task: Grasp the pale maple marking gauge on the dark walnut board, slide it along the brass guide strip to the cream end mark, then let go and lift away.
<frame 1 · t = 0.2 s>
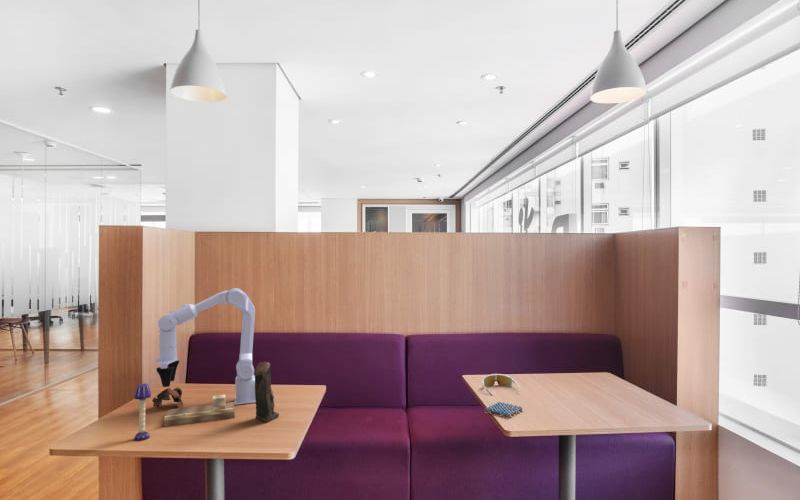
hand: (168, 383, 169), 10 cm above the table, tool pointing down, fingers open, 7 cm apart
statue: (265, 420, 159), on the table
toy lamp: (143, 438, 144), on the table
woven mat: (503, 413, 162), on the table
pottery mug: (170, 407, 174), on the table
walnut board: (201, 416, 163), on the table
marking gauge: (219, 410, 162), point 2 cm above the table, touching walnut board
sunglasses: (500, 391, 187), on the table
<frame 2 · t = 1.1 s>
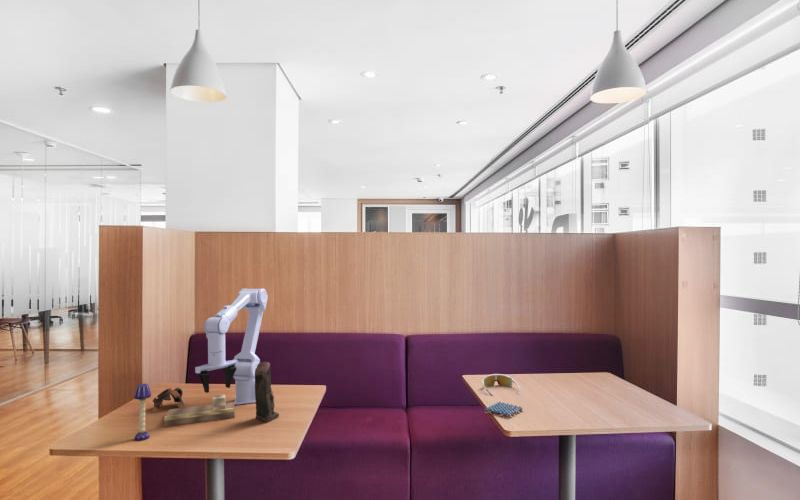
hand: (217, 389, 162), 9 cm above the table, tool pointing down, fingers open, 7 cm apart
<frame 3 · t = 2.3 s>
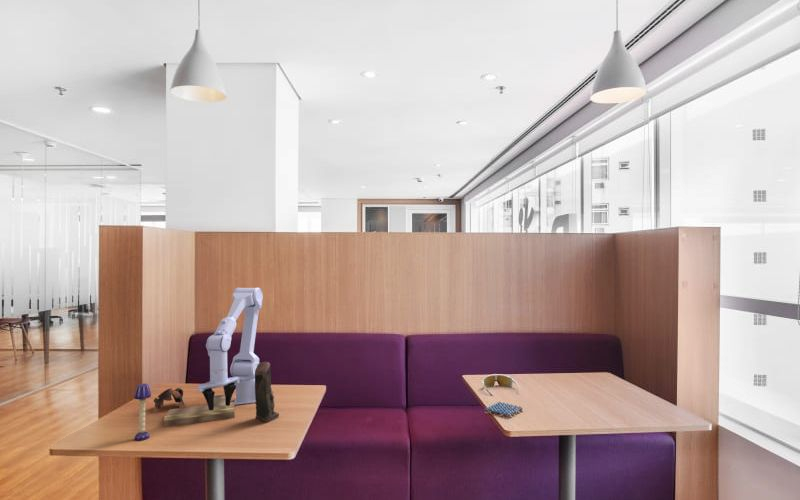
hand: (219, 407, 162), 3 cm above the table, tool pointing down, fingers closed on marking gauge, 5 cm apart
marking gauge: (219, 410, 162), point 2 cm above the table, touching gripper, walnut board
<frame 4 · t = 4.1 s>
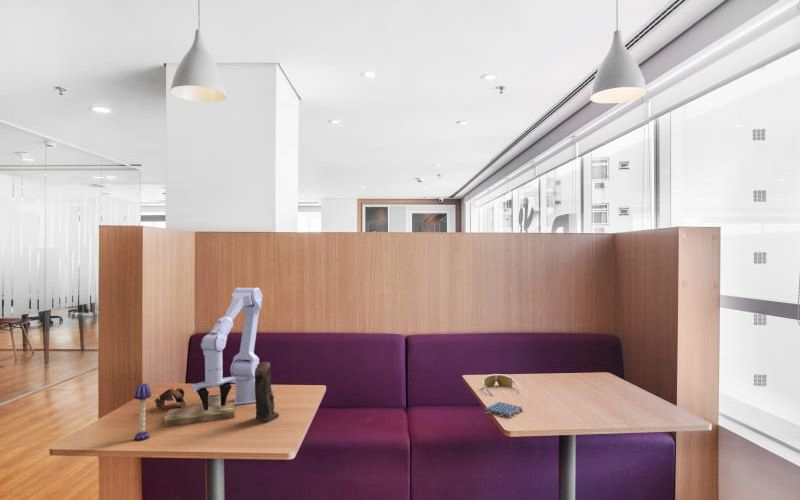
hand: (214, 407, 162), 4 cm above the table, tool pointing down, fingers closed on marking gauge, 5 cm apart
marking gauge: (214, 410, 162), point 2 cm above the table, touching gripper
when the fingers open (4 cm above the table, at t = 5.2 s): marking gauge moves 1 cm, resting on walnut board.
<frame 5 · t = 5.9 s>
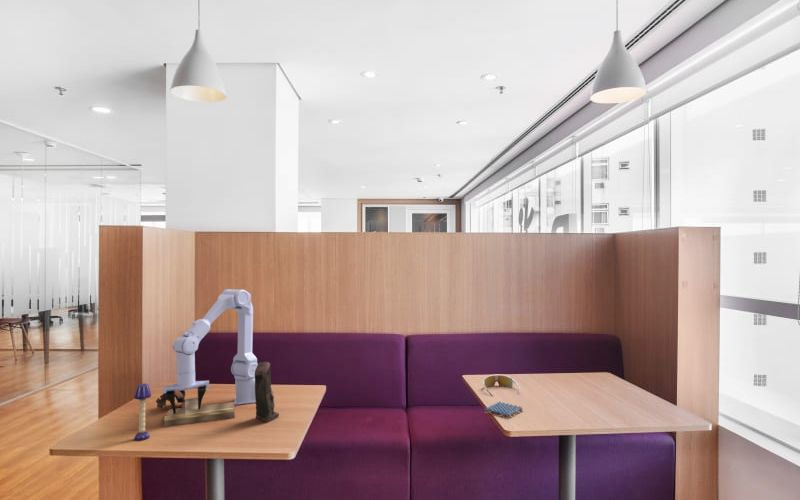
hand: (186, 410, 159), 3 cm above the table, tool pointing down, fingers open, 7 cm apart
marking gauge: (191, 414, 159), point 2 cm above the table, touching gripper, walnut board
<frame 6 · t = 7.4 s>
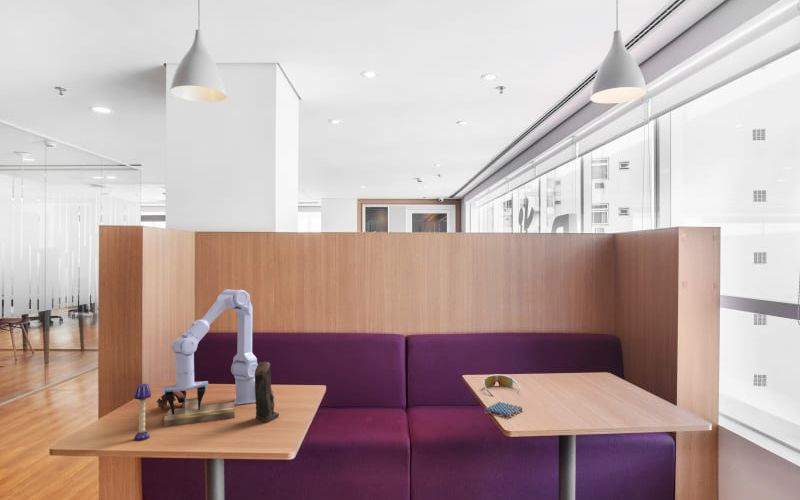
hand: (185, 411, 159), 3 cm above the table, tool pointing down, fingers open, 7 cm apart
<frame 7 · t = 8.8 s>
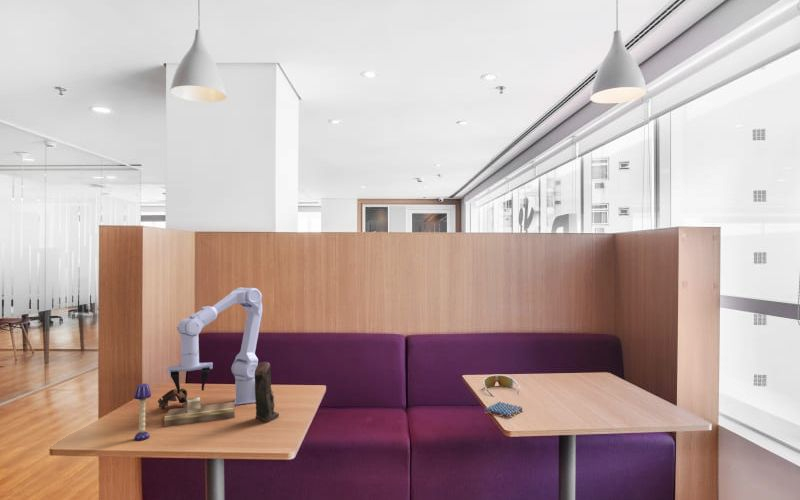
hand: (190, 391, 162), 9 cm above the table, tool pointing down, fingers open, 7 cm apart
marking gauge: (194, 414, 159), point 2 cm above the table, touching walnut board
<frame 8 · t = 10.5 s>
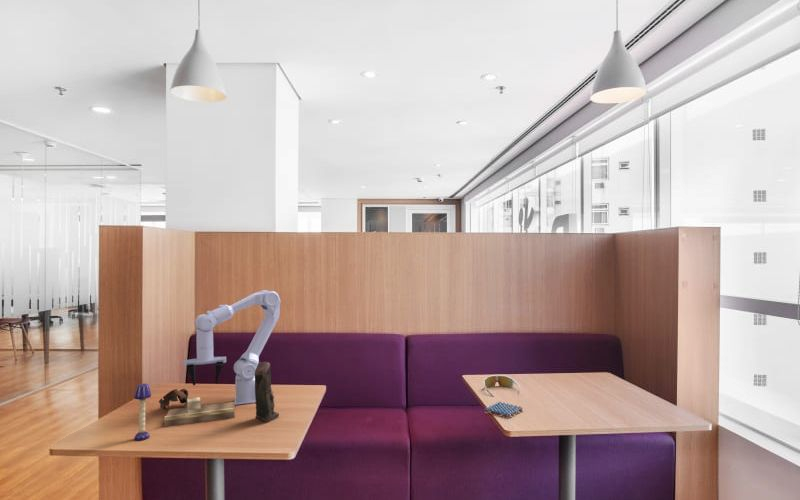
hand: (205, 383, 171), 9 cm above the table, tool pointing down, fingers open, 7 cm apart
at the end: marking gauge 2.8 cm from the target spot, point 2.0 cm above the table; marking gauge tilted 0°; the gripper is holding nothing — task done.
